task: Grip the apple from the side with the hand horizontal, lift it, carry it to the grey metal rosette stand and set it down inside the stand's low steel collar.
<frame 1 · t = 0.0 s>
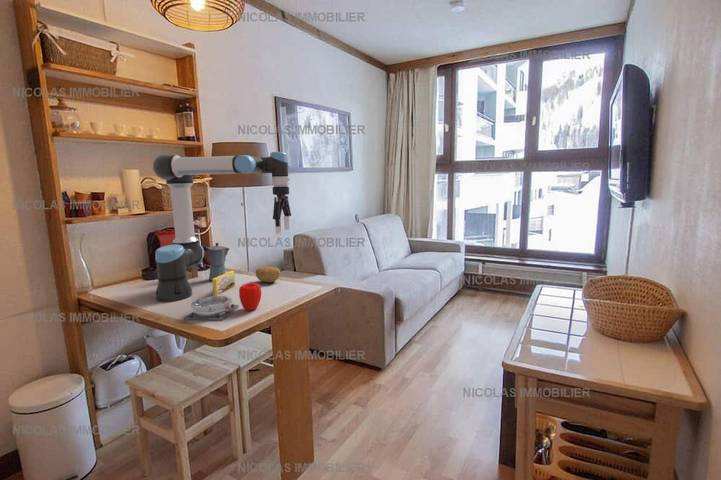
hand: (283, 231, 176), 28 cm above the table, tool pointing down, fingers open, 13 cm apart
rosette stand: (212, 313, 149), on the table
potato: (268, 282, 193), on the table
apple: (251, 309, 152), on the table
candy box: (224, 291, 179), on the table
wooden block: (187, 278, 205), on the table
moka pot: (217, 279, 201), on the table
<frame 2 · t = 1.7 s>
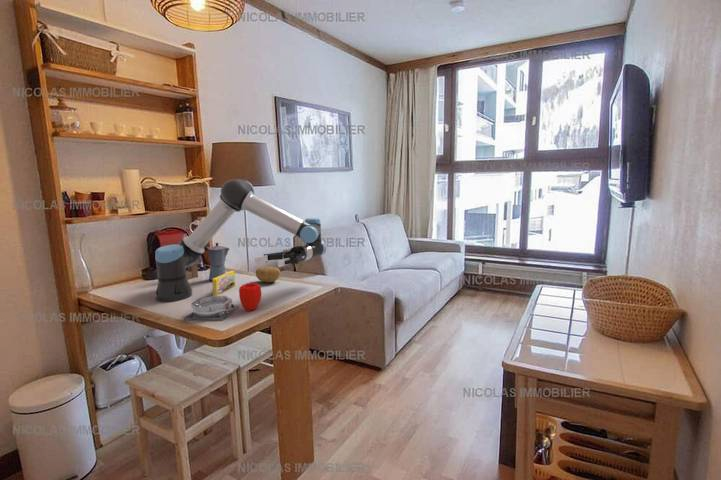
hand: (266, 262, 158), 18 cm above the table, tool horizontal, fingers open, 13 cm apart
nothing on the table moved.
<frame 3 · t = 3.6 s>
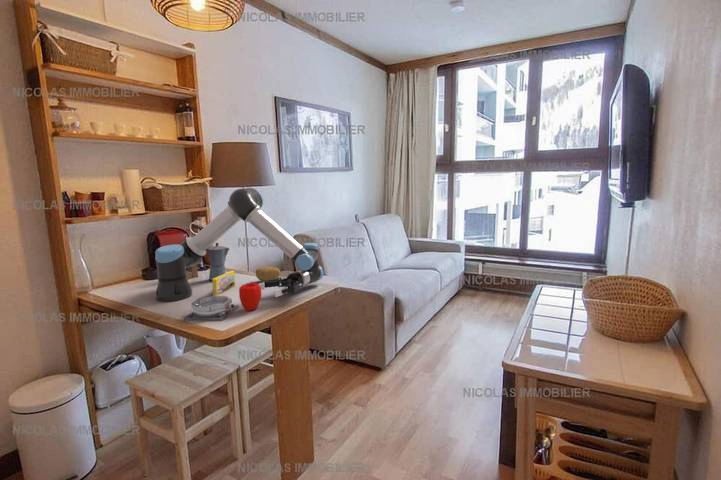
hand: (263, 291, 157), 6 cm above the table, tool horizontal, fingers open, 13 cm apart
nothing on the table moved.
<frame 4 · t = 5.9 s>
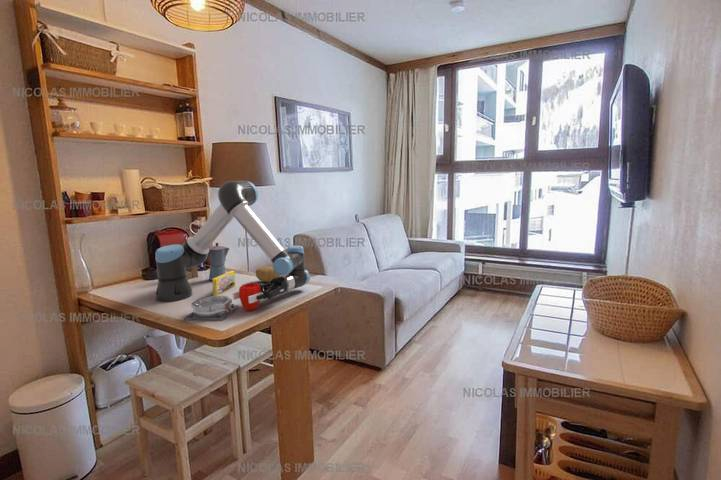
hand: (241, 298, 148), 6 cm above the table, tool horizontal, fingers closed on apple, 9 cm apart
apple: (251, 309, 152), on the table, touching gripper
everything else where it was.
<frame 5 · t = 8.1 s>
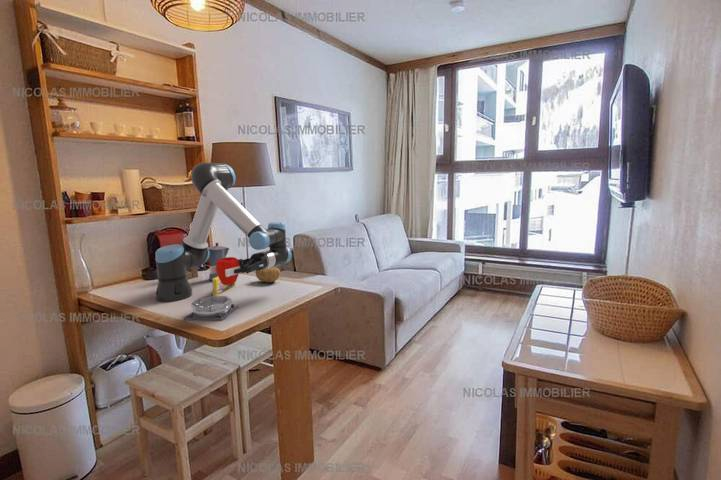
hand: (218, 271, 143), 18 cm above the table, tool horizontal, fingers closed on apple, 9 cm apart
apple: (229, 284, 148), point 11 cm above the table, touching gripper
everything else where it was.
when the fingers open (11 cm above the table, at t = 10.3 s): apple drops 1 cm, resting on rosette stand.
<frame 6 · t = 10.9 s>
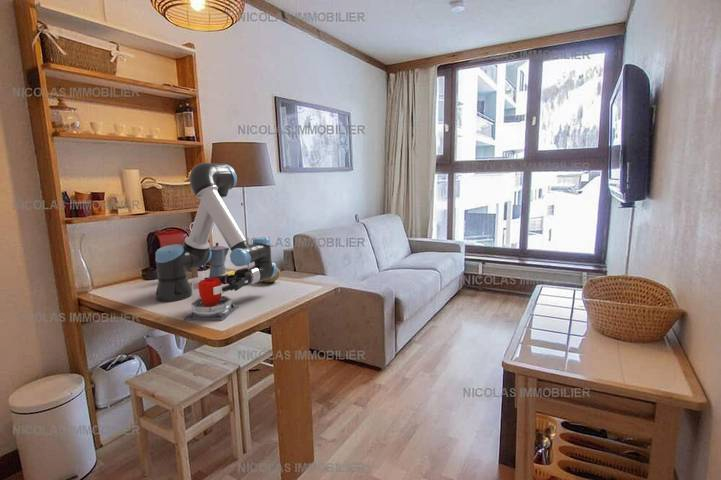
hand: (202, 288, 144), 11 cm above the table, tool horizontal, fingers open, 13 cm apart
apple: (212, 305, 148), point 3 cm above the table, touching rosette stand
everything else where it was.
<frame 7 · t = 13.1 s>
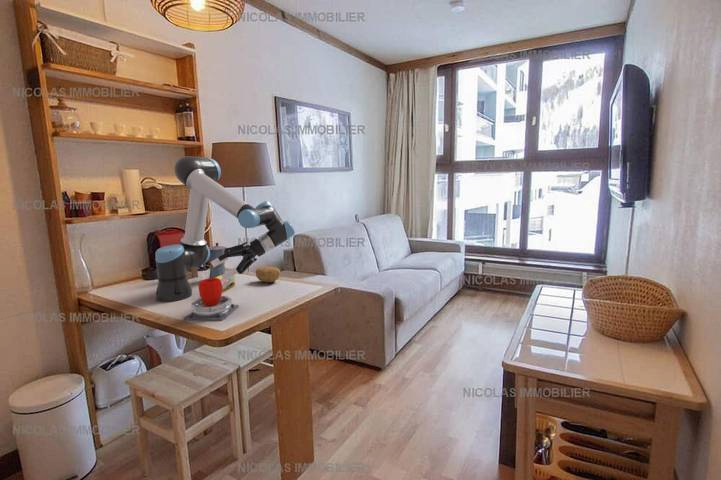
hand: (217, 271, 158), 14 cm above the table, tool tilted 65°, fingers open, 13 cm apart
nothing on the table moved.
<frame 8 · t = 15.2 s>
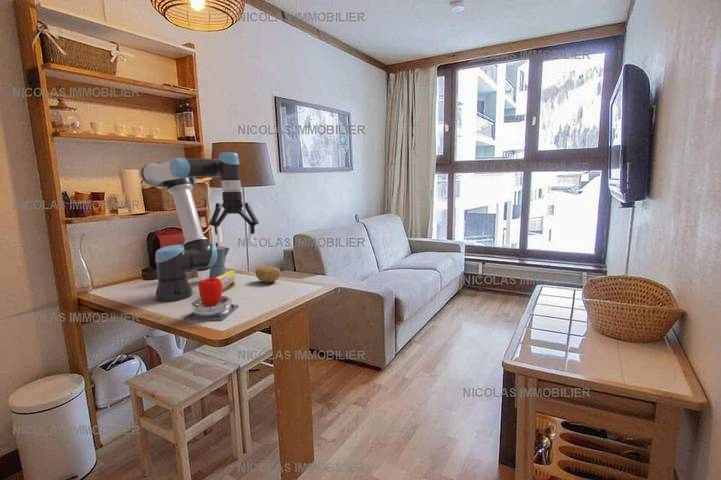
hand: (235, 241, 157), 27 cm above the table, tool pointing down, fingers open, 13 cm apart
nothing on the table moved.
at the end: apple 0.0 cm from the rosette stand (horizontally); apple point 3.3 cm above the table; the gripper is holding nothing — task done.
